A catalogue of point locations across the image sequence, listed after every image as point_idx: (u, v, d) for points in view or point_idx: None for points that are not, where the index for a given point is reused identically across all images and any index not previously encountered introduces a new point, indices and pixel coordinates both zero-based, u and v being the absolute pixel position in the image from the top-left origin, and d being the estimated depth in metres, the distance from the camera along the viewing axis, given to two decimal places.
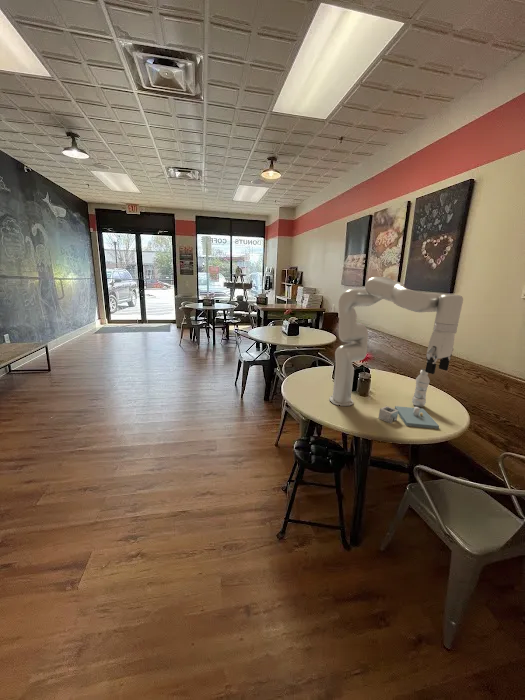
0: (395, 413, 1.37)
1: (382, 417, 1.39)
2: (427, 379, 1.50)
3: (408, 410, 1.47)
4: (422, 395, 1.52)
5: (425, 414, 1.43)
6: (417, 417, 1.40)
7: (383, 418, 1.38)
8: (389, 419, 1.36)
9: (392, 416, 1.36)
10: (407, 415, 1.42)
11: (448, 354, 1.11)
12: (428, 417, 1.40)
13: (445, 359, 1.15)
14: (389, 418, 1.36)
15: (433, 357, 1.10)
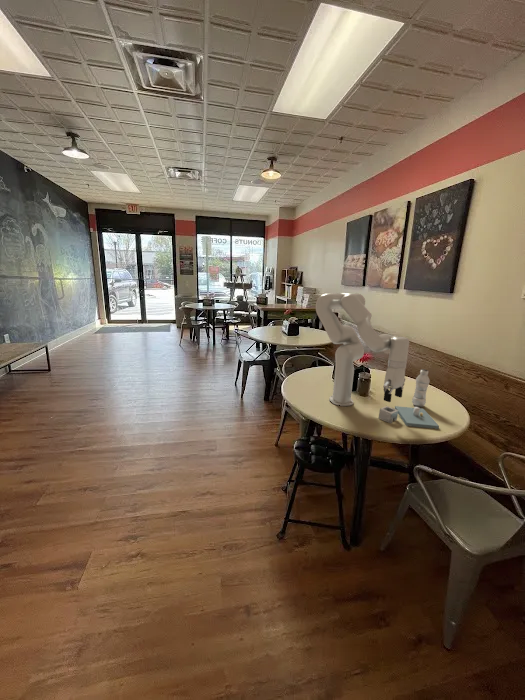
0: (395, 413, 1.37)
1: (382, 417, 1.39)
2: (427, 379, 1.50)
3: (408, 410, 1.47)
4: (422, 395, 1.52)
5: (425, 414, 1.43)
6: (417, 417, 1.40)
7: (383, 418, 1.38)
8: (389, 419, 1.36)
9: (392, 416, 1.36)
10: (407, 415, 1.42)
11: (401, 385, 1.35)
12: (428, 417, 1.40)
13: (399, 388, 1.38)
14: (389, 418, 1.36)
15: (389, 388, 1.33)
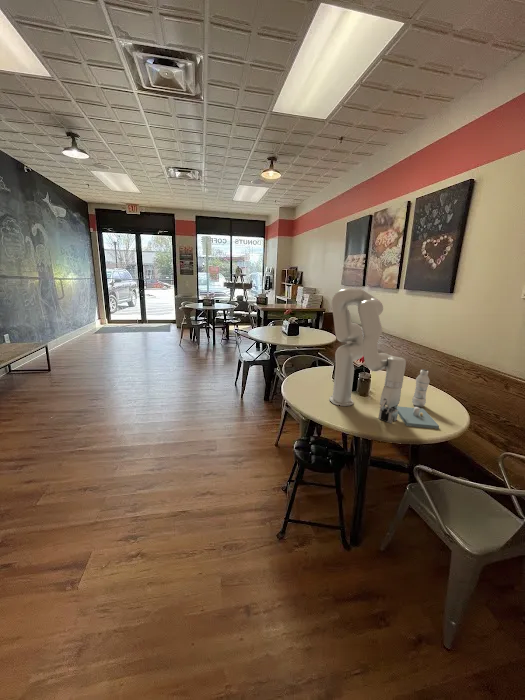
0: (395, 413, 1.37)
1: None
2: (427, 379, 1.50)
3: (408, 410, 1.47)
4: (422, 395, 1.52)
5: (425, 414, 1.43)
6: (417, 417, 1.40)
7: None
8: (389, 419, 1.36)
9: (392, 416, 1.36)
10: (407, 415, 1.42)
11: (396, 403, 1.37)
12: (428, 417, 1.40)
13: (393, 408, 1.40)
14: (389, 418, 1.36)
15: (385, 407, 1.36)
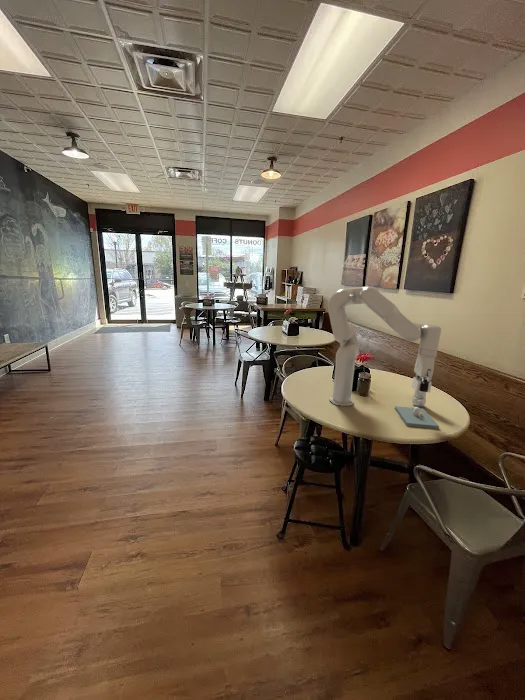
0: None
1: None
2: None
3: (408, 410, 1.47)
4: (422, 395, 1.52)
5: (425, 414, 1.43)
6: (417, 417, 1.40)
7: None
8: (429, 388, 1.35)
9: None
10: (407, 415, 1.42)
11: None
12: (428, 417, 1.40)
13: None
14: (429, 387, 1.34)
15: None
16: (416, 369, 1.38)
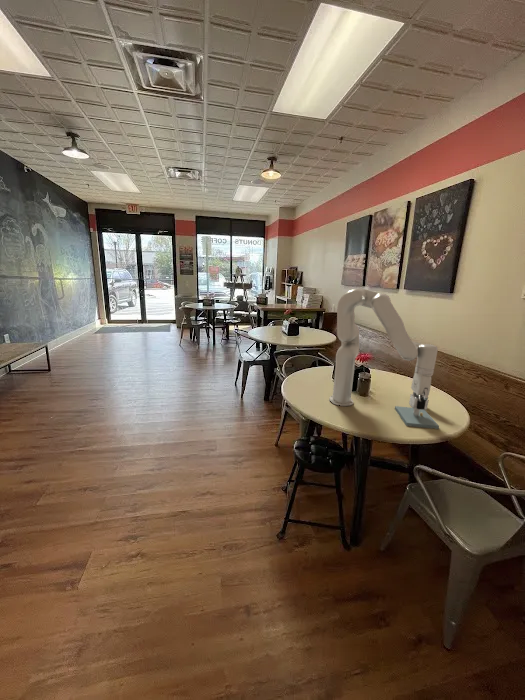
0: None
1: None
2: None
3: (408, 410, 1.47)
4: None
5: (425, 414, 1.43)
6: (417, 417, 1.40)
7: None
8: (426, 406, 1.37)
9: None
10: (407, 415, 1.42)
11: None
12: (428, 417, 1.40)
13: None
14: (426, 405, 1.37)
15: None
16: (413, 387, 1.40)
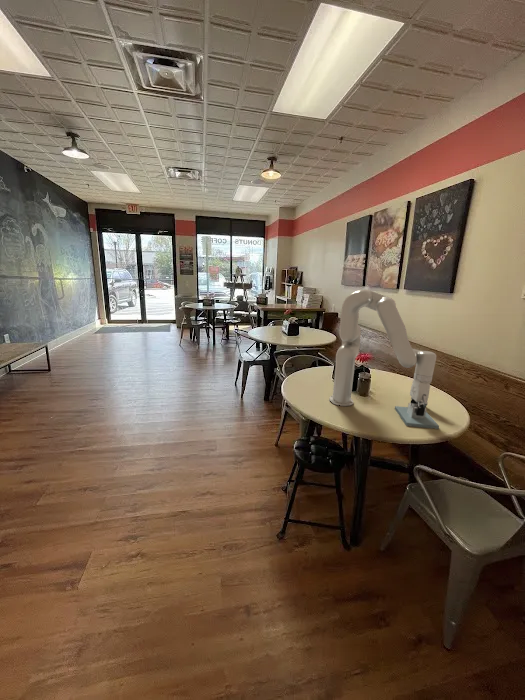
0: None
1: (416, 415, 1.39)
2: None
3: None
4: None
5: None
6: None
7: (417, 416, 1.39)
8: (424, 415, 1.38)
9: None
10: (407, 415, 1.42)
11: None
12: (428, 417, 1.40)
13: (415, 400, 1.44)
14: (424, 414, 1.38)
15: (421, 402, 1.36)
16: (412, 393, 1.41)
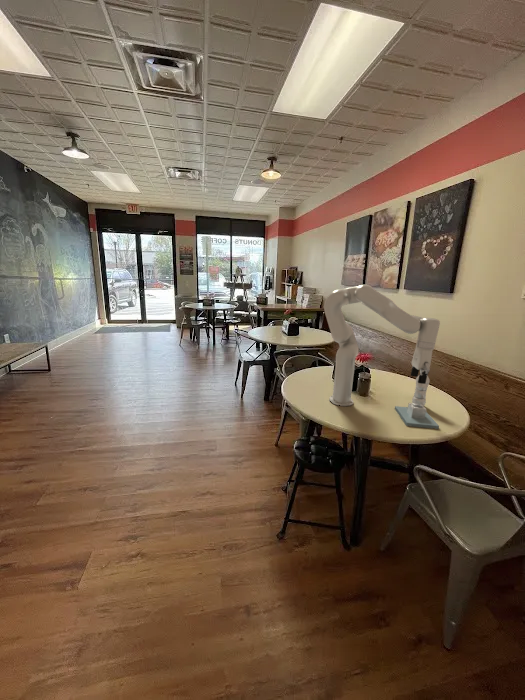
0: None
1: (416, 415, 1.39)
2: (427, 379, 1.50)
3: None
4: (422, 395, 1.52)
5: None
6: None
7: (417, 416, 1.39)
8: (424, 415, 1.38)
9: None
10: (407, 415, 1.42)
11: None
12: (428, 417, 1.40)
13: None
14: (424, 414, 1.38)
15: (423, 370, 1.33)
16: (413, 362, 1.38)
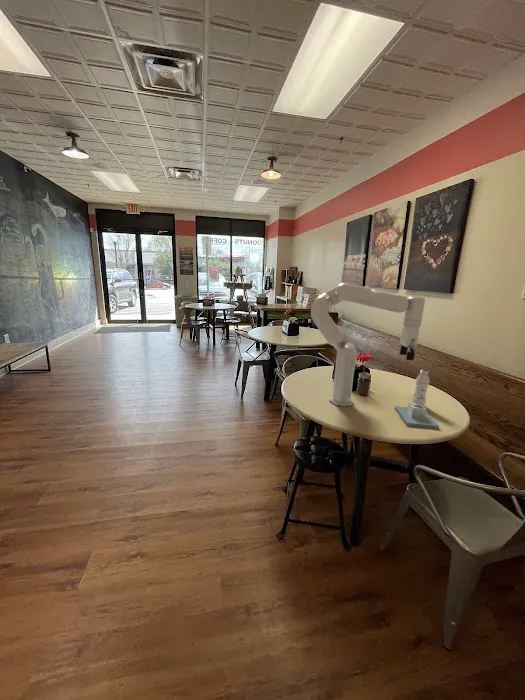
0: None
1: (416, 415, 1.39)
2: (427, 379, 1.50)
3: None
4: (422, 395, 1.52)
5: None
6: None
7: (417, 416, 1.39)
8: (424, 415, 1.38)
9: None
10: (407, 415, 1.42)
11: None
12: (428, 417, 1.40)
13: (405, 346, 1.47)
14: (424, 414, 1.38)
15: (411, 347, 1.38)
16: (402, 340, 1.43)
